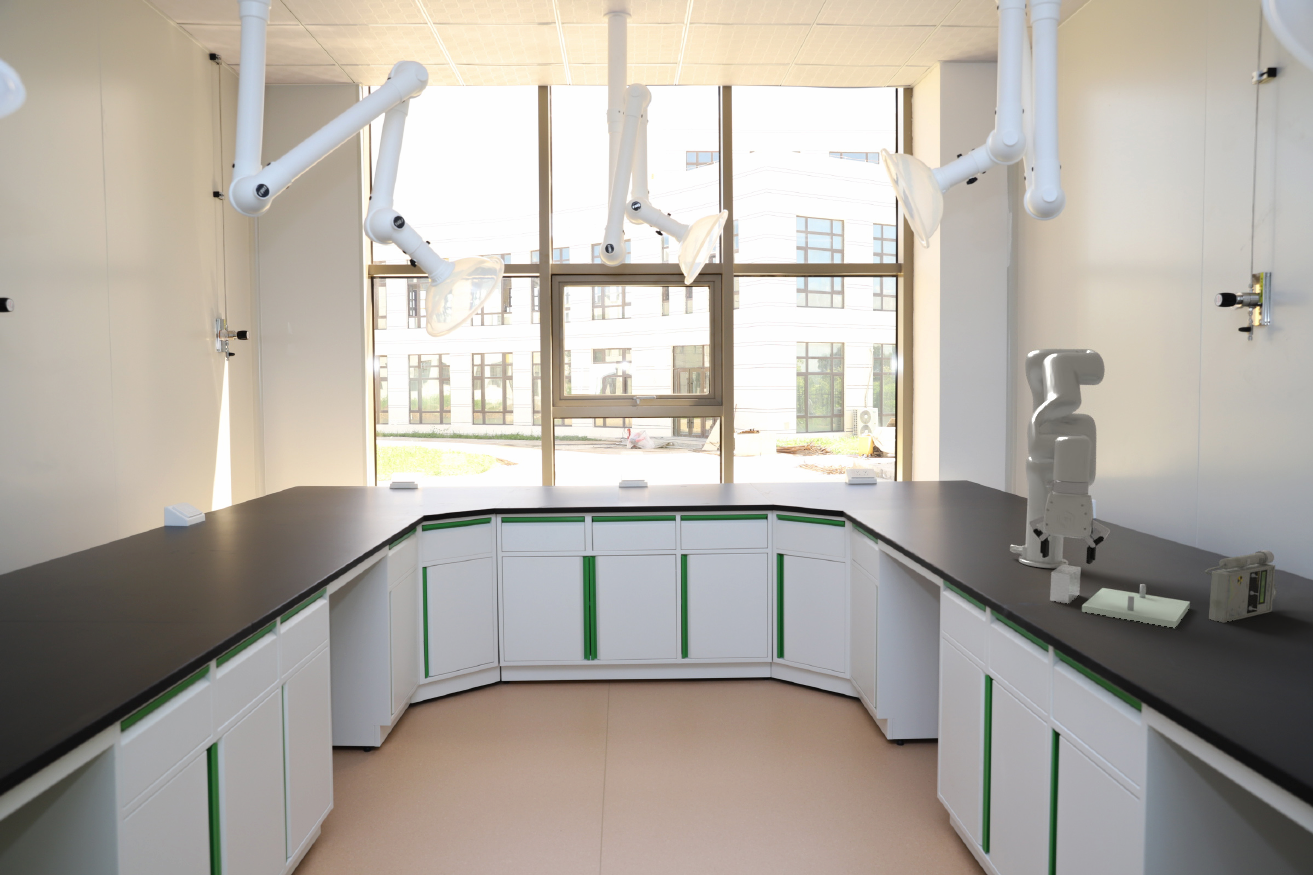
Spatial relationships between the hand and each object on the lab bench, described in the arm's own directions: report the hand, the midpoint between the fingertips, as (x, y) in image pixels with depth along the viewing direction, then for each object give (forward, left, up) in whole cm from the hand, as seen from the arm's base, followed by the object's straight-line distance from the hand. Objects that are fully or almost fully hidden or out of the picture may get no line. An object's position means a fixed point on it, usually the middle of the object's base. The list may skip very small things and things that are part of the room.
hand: (1067, 560), depth 196 cm
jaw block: (0, +1, -9) cm, 9 cm away
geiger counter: (+34, +15, -10) cm, 38 cm away
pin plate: (+15, +1, -9) cm, 17 cm away
